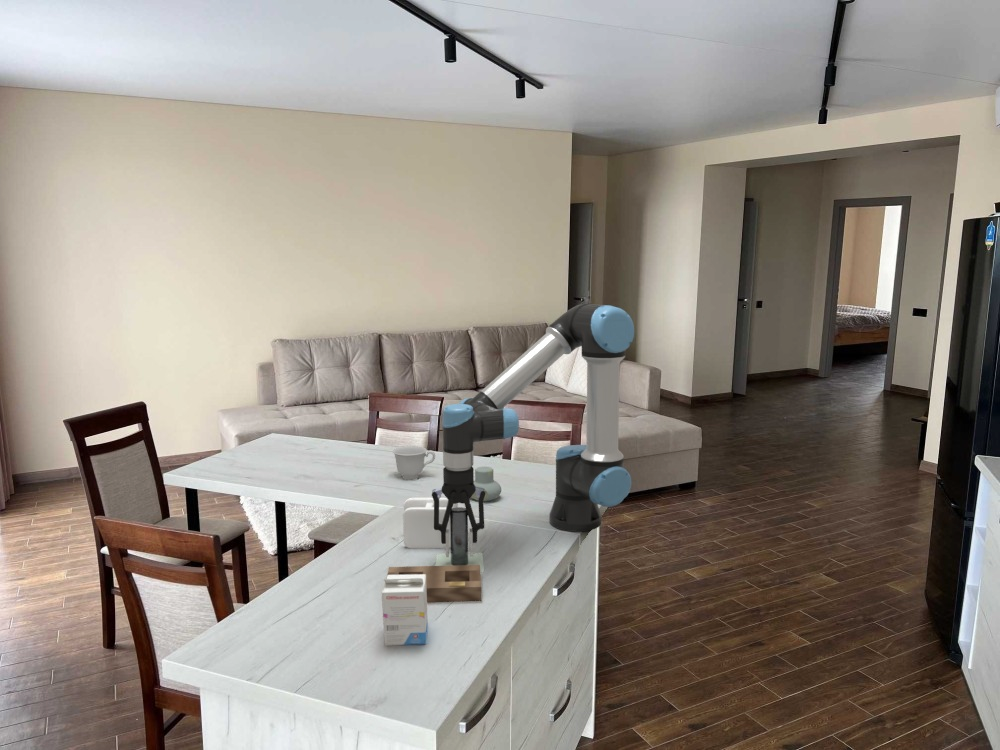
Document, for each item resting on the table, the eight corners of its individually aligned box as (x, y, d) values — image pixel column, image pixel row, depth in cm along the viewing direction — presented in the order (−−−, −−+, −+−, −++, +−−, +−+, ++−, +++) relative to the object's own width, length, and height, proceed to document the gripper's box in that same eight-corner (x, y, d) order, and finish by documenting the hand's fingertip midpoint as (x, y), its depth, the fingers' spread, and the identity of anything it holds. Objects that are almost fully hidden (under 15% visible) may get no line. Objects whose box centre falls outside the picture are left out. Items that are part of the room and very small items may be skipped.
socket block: (480, 578, 180) (479, 564, 179) (481, 601, 168) (481, 586, 167) (389, 580, 178) (389, 566, 178) (384, 603, 167) (383, 588, 166)
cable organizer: (400, 551, 196) (399, 509, 194) (405, 535, 207) (404, 496, 205) (456, 550, 196) (456, 509, 194) (458, 535, 207) (458, 496, 205)
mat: (482, 555, 193) (482, 552, 193) (483, 574, 182) (483, 572, 181) (436, 556, 193) (436, 553, 193) (435, 575, 181) (435, 573, 181)
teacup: (433, 482, 254) (433, 454, 252) (390, 482, 254) (389, 454, 253) (437, 472, 266) (436, 445, 264) (396, 472, 266) (395, 445, 265)
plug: (468, 559, 189) (467, 507, 187) (468, 566, 185) (467, 513, 183) (450, 559, 189) (450, 507, 187) (450, 566, 185) (450, 513, 182)
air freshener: (463, 499, 237) (463, 469, 235) (476, 492, 244) (475, 463, 242) (493, 505, 232) (493, 474, 230) (505, 497, 239) (505, 467, 237)
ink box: (428, 624, 157) (427, 565, 155) (425, 645, 149) (424, 583, 147) (388, 625, 157) (386, 566, 155) (383, 646, 149) (381, 584, 147)
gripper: (494, 461, 187) (494, 548, 191) (422, 462, 186) (423, 549, 190) (495, 470, 180) (496, 560, 183) (420, 471, 179) (422, 561, 183)
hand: (459, 554), depth 187 cm, fingers open, 5 cm apart
